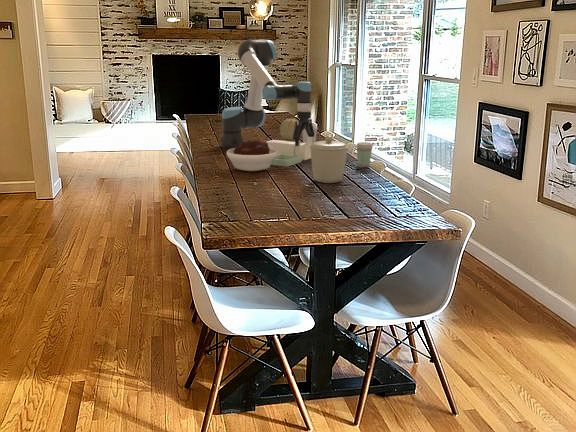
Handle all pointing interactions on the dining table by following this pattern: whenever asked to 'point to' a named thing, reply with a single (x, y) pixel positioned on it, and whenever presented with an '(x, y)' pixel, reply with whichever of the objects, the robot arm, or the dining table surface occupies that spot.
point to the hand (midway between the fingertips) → (303, 150)
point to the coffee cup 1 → (308, 136)
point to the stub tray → (286, 160)
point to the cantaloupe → (288, 129)
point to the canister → (328, 160)
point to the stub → (304, 151)
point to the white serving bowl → (252, 156)
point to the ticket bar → (282, 147)
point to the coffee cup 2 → (364, 154)
